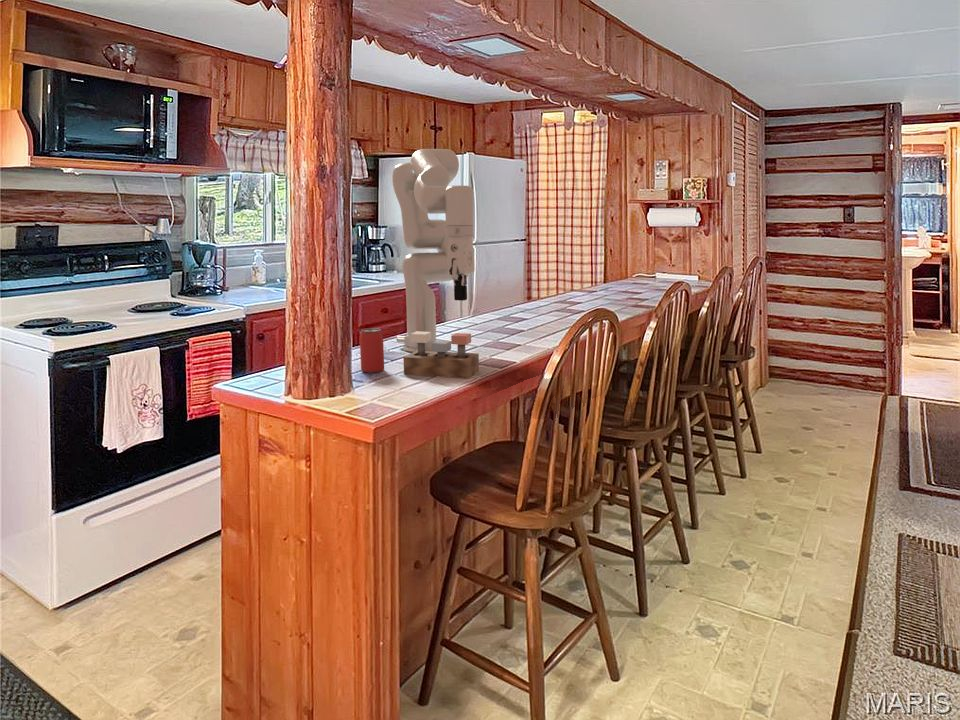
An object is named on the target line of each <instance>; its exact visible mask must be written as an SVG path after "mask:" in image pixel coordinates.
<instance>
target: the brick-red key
mask: <svg viewBox="0 0 960 720" xmlns="http://www.w3.org/2000/svg"><path fill="white" fill-rule="evenodd" d="M450 337H451V339H450V341H451V345H456V346H457V353H458V358H466V356H465V353H466V346H468V345H469V344H470V343H472V333H465V332H464V333H462V332H461V333H460V332H456V333H454V334H452V335H451V336H450Z"/></svg>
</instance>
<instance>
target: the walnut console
mask: <svg viewBox="0 0 960 720" xmlns="http://www.w3.org/2000/svg"><path fill="white" fill-rule="evenodd" d="M465 356H466V358H458V352H455V351H453V352H452V351H447V352H445V357H438V354H437V352H431V351H425V356H418V350H417V351H415V352H410V353H409V354H407V355H405V356H403V375H405V376H407V375H408V376H419V375H422V376H423V377H435V376H439V377H438V378H453V379H454V378H455V379H470V378H471V377H473V376H475V374H476V373H477V372H479V370H480V369H479V368H480V366H479V365H480V360H479V359H480V358H479V356H480V354H479V353H475V352H465Z"/></svg>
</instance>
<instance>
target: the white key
mask: <svg viewBox="0 0 960 720" xmlns="http://www.w3.org/2000/svg"><path fill="white" fill-rule="evenodd" d="M429 341H431V332H421V331H416V332H414V333H412V334H411V342H416V343H417V346H418V356H425V343H427V342H429Z"/></svg>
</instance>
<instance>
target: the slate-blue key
mask: <svg viewBox="0 0 960 720" xmlns="http://www.w3.org/2000/svg"><path fill="white" fill-rule="evenodd" d="M451 350H452V344H451V340H438V339H436V341H434V342H432V343H431V352H437V354H438V357H445V352H450V351H451Z"/></svg>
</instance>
